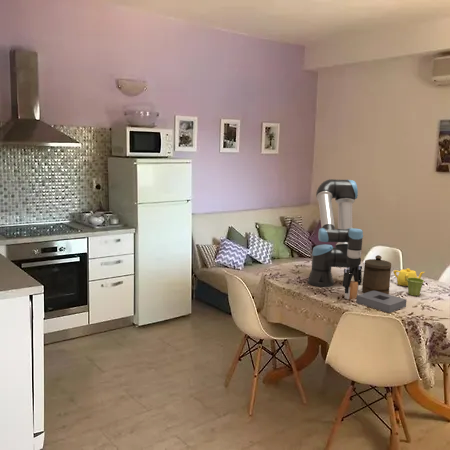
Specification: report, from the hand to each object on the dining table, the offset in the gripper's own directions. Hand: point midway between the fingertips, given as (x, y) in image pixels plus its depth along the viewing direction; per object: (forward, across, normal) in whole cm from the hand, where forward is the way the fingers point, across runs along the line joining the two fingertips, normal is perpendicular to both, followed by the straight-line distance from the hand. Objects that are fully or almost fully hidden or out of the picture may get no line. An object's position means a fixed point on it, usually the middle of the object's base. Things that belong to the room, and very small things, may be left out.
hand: (351, 297), depth 286 cm
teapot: (0, +49, -6) cm, 49 cm away
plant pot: (0, +35, -18) cm, 39 cm away
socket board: (0, +3, -17) cm, 17 cm away
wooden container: (0, +19, -3) cm, 19 cm away
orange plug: (0, 0, 0) cm, 0 cm away
